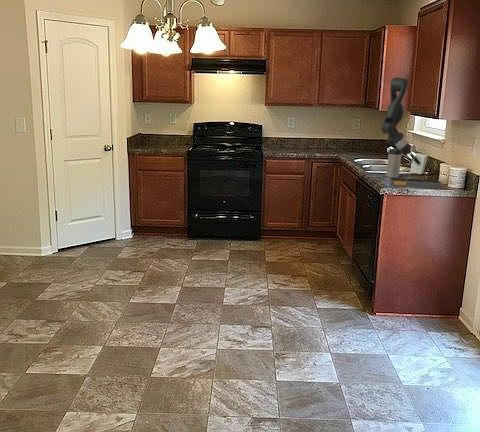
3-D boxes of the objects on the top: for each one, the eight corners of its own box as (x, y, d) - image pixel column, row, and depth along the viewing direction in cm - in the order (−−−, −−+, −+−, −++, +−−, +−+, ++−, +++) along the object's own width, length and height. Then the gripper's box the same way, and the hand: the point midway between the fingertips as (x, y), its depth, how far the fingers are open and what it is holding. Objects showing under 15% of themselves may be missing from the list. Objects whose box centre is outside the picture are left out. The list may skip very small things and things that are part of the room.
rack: (388, 183, 362) (388, 177, 361) (437, 185, 358) (437, 179, 357) (390, 186, 350) (391, 180, 349) (441, 188, 346) (442, 183, 345)
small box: (423, 173, 364) (428, 155, 360) (420, 174, 359) (425, 156, 355) (412, 170, 369) (417, 152, 364) (409, 171, 364) (414, 153, 359)
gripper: (409, 143, 353) (424, 160, 354) (405, 140, 366) (420, 157, 368) (400, 150, 355) (415, 167, 356) (397, 147, 368) (411, 164, 370)
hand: (417, 162), depth 362 cm, fingers closed on small box, 8 cm apart
